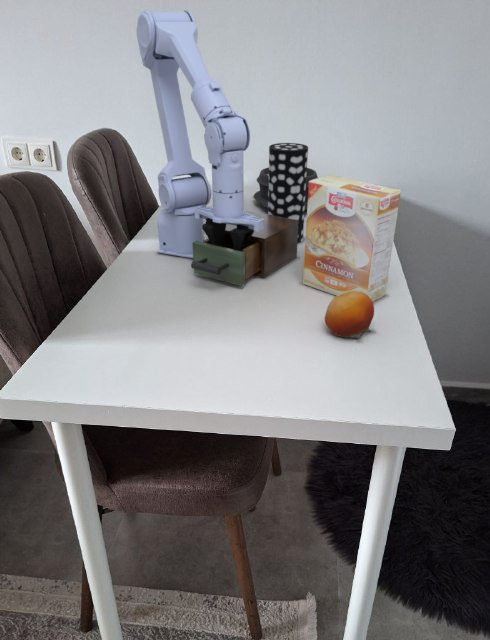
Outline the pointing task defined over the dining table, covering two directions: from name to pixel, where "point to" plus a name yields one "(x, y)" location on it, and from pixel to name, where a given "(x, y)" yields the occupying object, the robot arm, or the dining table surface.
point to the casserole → (264, 180)
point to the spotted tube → (288, 182)
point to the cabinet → (274, 242)
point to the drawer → (226, 260)
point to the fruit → (350, 314)
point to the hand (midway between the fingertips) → (229, 260)
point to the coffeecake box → (349, 236)
